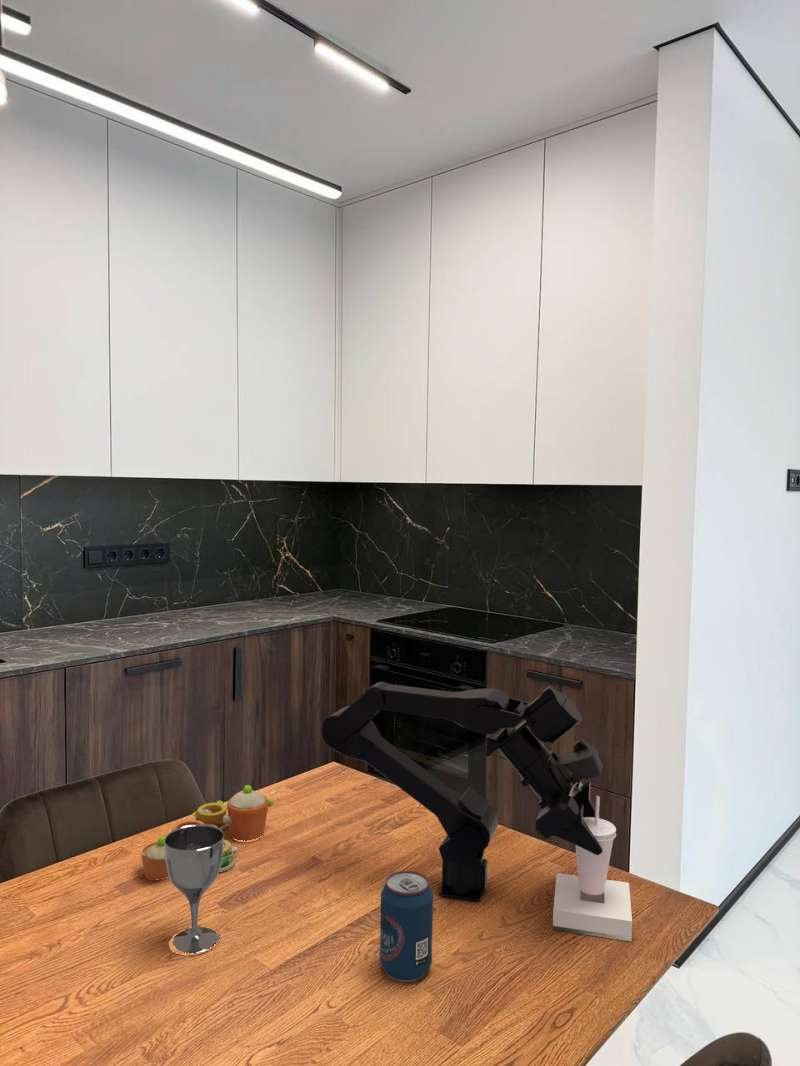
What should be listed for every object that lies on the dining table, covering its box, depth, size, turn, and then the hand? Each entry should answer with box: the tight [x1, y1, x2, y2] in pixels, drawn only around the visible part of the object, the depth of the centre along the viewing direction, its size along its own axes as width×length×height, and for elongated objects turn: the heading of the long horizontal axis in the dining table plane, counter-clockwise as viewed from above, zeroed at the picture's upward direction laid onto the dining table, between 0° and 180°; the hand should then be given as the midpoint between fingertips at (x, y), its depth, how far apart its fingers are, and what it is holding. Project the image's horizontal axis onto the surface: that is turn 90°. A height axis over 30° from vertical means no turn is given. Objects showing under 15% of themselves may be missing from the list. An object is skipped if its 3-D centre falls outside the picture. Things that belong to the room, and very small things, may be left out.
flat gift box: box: [552, 872, 633, 943], centre depth 116 cm, size 11×11×3 cm
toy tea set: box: [140, 784, 275, 881], centre depth 134 cm, size 26×16×10 cm, turn 165°
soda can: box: [379, 870, 434, 983], centre depth 102 cm, size 7×7×12 cm
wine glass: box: [165, 824, 225, 954], centre depth 107 cm, size 8×8×15 cm
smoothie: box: [575, 795, 617, 895], centre depth 115 cm, size 6×6×14 cm
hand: (602, 843), depth 115 cm, fingers closed on smoothie, 6 cm apart
